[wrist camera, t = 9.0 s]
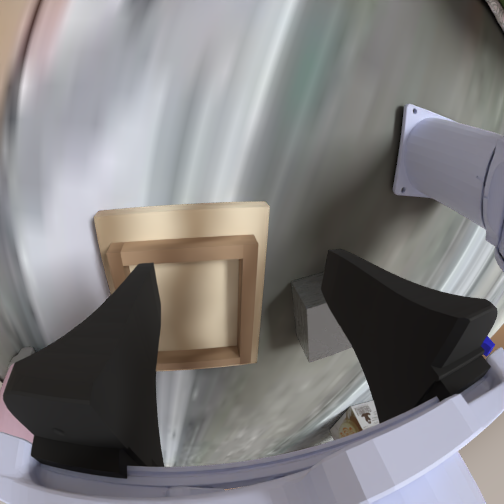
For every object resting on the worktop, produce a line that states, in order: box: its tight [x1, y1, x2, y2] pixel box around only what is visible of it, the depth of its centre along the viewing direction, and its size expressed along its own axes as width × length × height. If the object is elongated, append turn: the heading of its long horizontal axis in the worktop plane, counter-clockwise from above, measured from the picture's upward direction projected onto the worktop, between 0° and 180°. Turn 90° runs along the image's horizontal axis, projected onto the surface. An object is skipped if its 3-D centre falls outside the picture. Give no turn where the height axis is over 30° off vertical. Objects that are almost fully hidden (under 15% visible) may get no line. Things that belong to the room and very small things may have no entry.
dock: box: [94, 201, 270, 371], centre depth 21 cm, size 12×16×3 cm
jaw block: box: [291, 272, 352, 362], centre depth 24 cm, size 5×7×4 cm
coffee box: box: [330, 400, 379, 440], centre depth 36 cm, size 9×6×16 cm
